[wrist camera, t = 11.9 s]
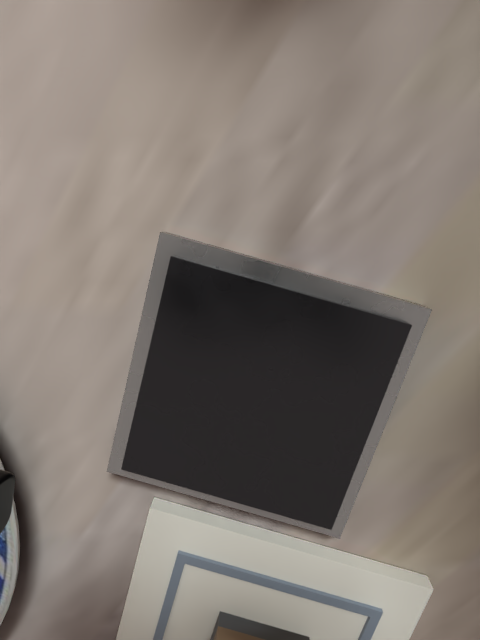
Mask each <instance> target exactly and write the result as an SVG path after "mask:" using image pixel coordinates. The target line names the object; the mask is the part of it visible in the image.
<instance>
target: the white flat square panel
mask: <svg viewBox="0 0 480 640" xmlns="http://www.w3.org/2000/svg"><path fill="white" fill-rule="evenodd" d="M433 590H434V589H433V587H432V585H431V583H430V581H429V579H428V577H427V576H426V575H423V574H420V573H416V572H413V571H409V570H406V569H402V568H399V567H395V566H392V565H388V564H385V563H381V562H378V561H374V560H371V559H367V558H364V557H360V556H357V555H353V554H350V553H346V552H343V551H340V550H336V549H333V548H329V547H326V546H322V545H319V544H315V543H312V542H308V541H305V540H301V539H298V538H294V537H291V536H287V535H284V534H280V533H277V532H273V531H270V530H267V529H263V528H260V527H256V526H253V525H249V524H246V523H242V522H239V521H235V520H232V519H228V518H225V517H221V516H218V515H214V514H211V513H207V512H204V511H200V510H197V509H194V508H190V507H187V506H183V505H180V504H176V503H173V502H169V501H166V500H162V499H159V498H155V497H154V499H153V502H152V504H151V507H150V510H149V513H148V517H147V521H146V525H145V529H144V533H143V537H142V540H141V544H140V548H139V552H138V556H137V560H136V564H135V567H134V571H133V575H132V579H131V583H130V587H129V591H128V594H127V598H126V602H125V606H124V610H123V614H122V618H121V621H120V625H119V629H118V633H117V637H116V640H210V639H211V636H212V633H213V630H214V627H215V624H216V621H217V618H218V615H219V612H220V611H221V612H225V613H228V614H232V615H235V616H239V617H242V618H245V619H249V620H252V621H256V622H259V623H263V624H266V625H270V626H273V627H277V628H280V629H283V630H287V631H290V632H294V633H297V634H301V635H304V636H308V637H309V639H310V640H409V639H410V637H411V635H412V633H413V631H414V629H415V627H416V625H417V623H418V621H419V618H420V616H421V614H422V612H423V610H424V608H425V606H426V604H427V602H428V600H429V598H430V596H431V594H432V592H433Z"/></svg>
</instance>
